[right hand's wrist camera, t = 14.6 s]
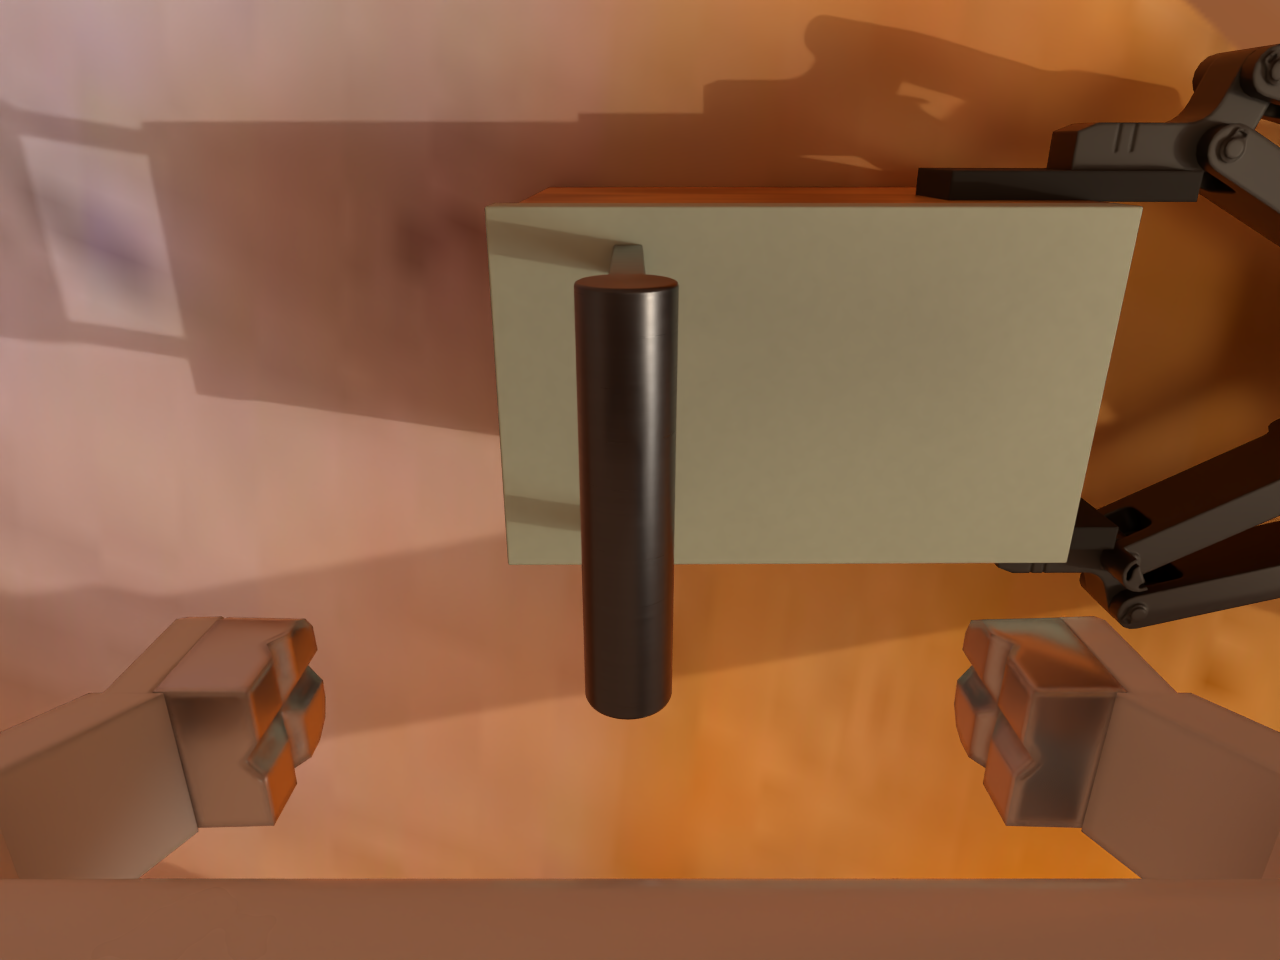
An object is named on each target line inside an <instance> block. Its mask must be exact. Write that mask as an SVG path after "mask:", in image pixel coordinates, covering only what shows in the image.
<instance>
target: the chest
mask: <svg viewBox="0 0 1280 960" xmlns="http://www.w3.org/2000/svg"><path fill="white" fill-rule="evenodd" d="M519 203H1108V202H1100V201H1091V200H943V199H937V198H931V197H925V196H919V195H916V187H549V188H547V189H545V190H543V191H541V192H539V193H537V194H535V195H533V196H531V197H529V198H527V199H525V200H523V201H521V202H519Z"/></svg>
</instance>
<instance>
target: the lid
mask: <svg viewBox="0 0 1280 960" xmlns="http://www.w3.org/2000/svg"><path fill="white" fill-rule="evenodd" d="M1142 210H1143V207H1141V206H1135V205H1126V204H1118V203H494V204H491V205H489V206H486V207H485V220H486V235H487V251H488V266H489V281H490V296H491V311H492V326H493V342H494V357H495V372H496V387H497V402H498V418H499V433H500V448H501V463H502V478H503V493H504V509H505V524H506V539H507V554H508V564H509V565H582V591H583V626H584V661H585V694H586V698H587V700H588V702H589V703H590V705H591V706H592V707H593V708H594V709H595V710H597V711H598V712H600V713H601V714H604V715H606V716H609V717H612V718H617V719H639V718H644V717H647V716H650V715H653V714H655V713H657V712H658V711H660V710H661V709H663V708H664V707H665V706H666V704H667V703H668V701H669V700H670V697H671V694H672V647H673V591H674V564H855V563H1066V562H1067V558H1068V553H1069V549H1070V544H1071V539H1072V535H1073V530H1074V525H1075V521H1076V516H1077V511H1078V507H1079V502H1080V498H1081V493H1082V488H1083V484H1084V479H1085V474H1086V470H1087V465H1088V460H1089V456H1090V451H1091V447H1092V442H1093V437H1094V433H1095V428H1096V423H1097V419H1098V414H1099V409H1100V405H1101V400H1102V396H1103V391H1104V386H1105V382H1106V377H1107V372H1108V368H1109V363H1110V358H1111V354H1112V349H1113V345H1114V340H1115V335H1116V331H1117V326H1118V321H1119V317H1120V312H1121V307H1122V303H1123V298H1124V294H1125V289H1126V284H1127V280H1128V275H1129V270H1130V266H1131V261H1132V256H1133V252H1134V247H1135V243H1136V238H1137V233H1138V229H1139V224H1140V219H1141V215H1142Z"/></svg>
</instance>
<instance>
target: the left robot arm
mask: <svg viewBox="0 0 1280 960" xmlns="http://www.w3.org/2000/svg"><path fill="white" fill-rule="evenodd" d="M1192 82H1193V91H1194V94H1193V96H1192V97H1191V99H1190V101H1189V103H1188V104H1187V106H1186V107H1185V109H1184V110H1183V111H1182V112H1181V113H1180V114H1179V115H1178V116H1177V117H1175V118H1174V119H1172V120H1171V121H1168V122H1165V123H1081V124H1071V125H1068V126H1066V127H1064V128H1061V129H1059V130H1056V131H1054V132H1053V134H1052V140H1051V146H1050V152H1049V158H1048V163H1047V168H919V170H918V178H917V186H916V195H919V196H925V197H931V198H937V199H943V200H1091V201H1100V202H1197V198H1198V194H1201V195H1202V196H1204V197H1205V198H1207V199H1208V200H1210V201H1211V202H1213V203H1214V204H1216V205H1217V206H1219V207H1220V208H1222V209H1224V210H1225V211H1227V212H1228V213H1230V214H1231V215H1233V216H1234V217H1236V218H1237V219H1239V220H1240V221H1242V222H1243V223H1245V224H1246V225H1248V226H1249V227H1251V228H1252V229H1254V230H1255V231H1257V232H1258V233H1260V234H1261V235H1263V236H1264V237H1266V238H1268V239H1269V240H1271V241H1272V242H1274V243H1275V244H1277V245H1278V246H1280V147H1278V146H1277V145H1275V144H1274V143H1272V142H1271V141H1270V140H1268V139H1267V138H1265V137H1264V136H1262V135H1261V134H1259V133H1258V132H1256V131H1255V130H1254V129H1255V128H1256V126H1257V124H1258V123H1259V121H1260V119H1264V120H1268V121H1271V122H1274V123H1277V124H1280V44H1276V45H1269V46H1263V47H1256V48H1250V49H1244V50H1237V51H1231V52H1224V53H1218V54H1215V55H1212V56H1209V57H1208V58H1206V59H1205V60H1204V61H1203V62H1201V63H1200V65H1199V66H1198V68H1197V69H1196V71H1195V74H1194V77H1193V81H1192ZM1268 429H1269V432H1268V433H1267V434H1265V435H1264V436H1262V437H1259V438H1257V439H1255V440H1253V441H1250V442H1248V443H1246V444H1244V445H1241V446H1239V447H1237V448H1235V449H1232V450H1230V451H1228V452H1226V453H1223V454H1221V455H1219V456H1217V457H1214V458H1212V459H1210V460H1208V461H1205V462H1203V463H1201V464H1199V465H1197V466H1194V467H1192V468H1190V469H1188V470H1185V471H1183V472H1181V473H1179V474H1176V475H1174V476H1172V477H1170V478H1167V479H1165V480H1163V481H1161V482H1158V483H1156V484H1154V485H1152V486H1149V487H1147V488H1145V489H1143V490H1140V491H1138V492H1136V493H1134V494H1131V495H1129V496H1127V497H1125V498H1122V499H1120V500H1118V501H1116V502H1113V503H1111V504H1109V505H1107V506H1105V507H1102V508H1100V509H1098V510H1096V509H1095V508H1094V507H1092V506H1091V505H1090V504H1088V503H1087V502H1086V501H1085V500H1083V499H1082V498H1080V502H1079V507H1078V511H1077V516H1076V521H1075V525H1074V530H1073V535H1072V539H1071V544H1070V549H1069V553H1068V558H1067V562H1066V563H995V564H996V566H997V567H998V568H1001V569H1004V570H1006V571H1009V572H1012V573H1029V572H1032V573H1042V572H1045V573H1081V572H1082V573H1081V574H1080V580H1079V581H1080V584H1081V586H1082V587H1083V588H1084V589H1085V590H1086V591H1087V592H1088V593H1089V594H1090V595H1091V596H1092V597H1093V598H1094V599H1095V600H1096V601H1097V602H1098V603H1099V604H1100V605H1101V606H1102V607H1103V608H1104V609H1105V610H1106V611H1107V612H1108V613H1109V614H1110V615H1111V616H1112V617H1113V618H1115V619H1116V620H1117V621H1118V622H1119V623H1120V624H1121V625H1122V626H1123V627H1126V628H1129V629H1136V628H1141V627H1146V626H1151V625H1155V624H1160V623H1165V622H1169V621H1174V620H1178V619H1183V618H1188V617H1192V616H1197V615H1202V614H1206V613H1211V612H1216V611H1220V610H1225V609H1230V608H1234V607H1239V606H1244V605H1248V604H1253V603H1258V602H1262V601H1267V600H1272V599H1276V598H1280V521H1277V522H1272V523H1268V524H1263V525H1259V524H1261V523H1264V522H1266V521H1268V520H1271V519H1273V518H1275V517H1278V516H1280V419H1278V420H1276V421H1274V422H1272V423H1271V424H1270V425H1269V426H1268ZM1257 525H1259V526H1257Z"/></svg>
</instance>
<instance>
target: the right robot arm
mask: <svg viewBox="0 0 1280 960" xmlns="http://www.w3.org/2000/svg"><path fill="white" fill-rule="evenodd" d="M316 651H317V645H316V640H315V635H314V631H313V626H312V625H311V624H310V623H309V622H308V621H307V620H306V619H291V618H240V617H227V618H223V617H186V618H180V619H176V620H175V621H174V622H173V623H172V624H171V625H170V626H169V627H168V628H167V629H166V630H165V631H164V632H163V633H162V634H161V635H160V636H159V637H158V638H157V639H156V640H155V641H154V642H153V643H152V644H151V645H150V646H149V647H148V648H147V649H146V650H145V651H144V652H143V653H142V654H141V655H140V656H139V657H138V658H137V659H136V660H135V661H134V662H133V663H132V664H131V665H130V666H129V667H128V668H127V669H126V670H125V671H124V672H123V673H122V674H121V675H120V676H119V677H118V678H117V679H116V680H115V681H114V682H113V683H112V684H111V685H110V686H109V687H108V688H107V689H106V690H105V691H104V692H103V693H88V694H86V695H84V696H81V697H79V698H77V699H75V700H72V701H70V702H68V703H66V704H63V705H61V706H59V707H57V708H54V709H52V710H50V711H48V712H45V713H43V714H41V715H39V716H36V717H34V718H32V719H30V720H27V721H25V722H23V723H21V724H18V725H16V726H14V727H11V728H9V729H7V730H5V731H2V732H0V960H1280V732H1277V731H1275V730H1273V729H1271V728H1268V727H1266V726H1264V725H1262V724H1259V723H1257V722H1255V721H1253V720H1250V719H1248V718H1246V717H1244V716H1241V715H1239V714H1237V713H1235V712H1232V711H1230V710H1228V709H1226V708H1223V707H1221V706H1219V705H1217V704H1214V703H1212V702H1210V701H1208V700H1205V699H1203V698H1201V697H1199V696H1196V695H1194V694H1192V693H1177V692H1176V691H1175V690H1174V689H1173V688H1172V687H1171V686H1170V685H1169V684H1168V683H1167V682H1166V681H1165V680H1164V679H1163V678H1162V677H1161V676H1160V675H1159V674H1158V673H1157V672H1156V671H1155V670H1154V669H1153V668H1152V667H1151V666H1150V665H1149V664H1148V663H1147V662H1146V661H1145V660H1144V659H1143V658H1142V657H1141V656H1140V655H1139V654H1138V653H1137V652H1136V651H1135V650H1134V649H1133V648H1132V647H1131V646H1130V645H1129V644H1128V643H1127V642H1126V641H1125V640H1124V639H1123V638H1122V637H1121V636H1120V635H1119V634H1118V633H1117V632H1116V631H1115V630H1114V629H1113V628H1112V627H1111V626H1110V625H1109V624H1108V623H1107V622H1106V621H1105V620H1103V619H1100V618H1097V617H1095V616H1089V617H1064V618H1027V619H987V620H971V622H970V624H969V626H968V628H967V630H966V633H965V639H964V644H963V651H964V653H965V655H966V656H967V658H968V659H969V661H970V663H971V664H972V666H971V667H970V668H969V669H968V670H967V671H966V672H965V673H964V674H963V675H962V676H961V677H960V678H959V679H958V680H957V686H956V694H955V701H954V707H955V719H956V727H957V730H958V734H959V737H960V740H961V743H962V745H963V747H964V749H965V751H966V753H967V755H968V757H970V758H971V759H973V760H974V761H976V762H977V763H979V764H980V765H982V766H983V767H985V768H986V770H985V775H984V780H983V785H984V786H985V788H986V790H987V792H988V794H989V795H990V797H991V799H992V801H993V803H994V805H995V806H996V808H997V810H998V812H999V814H1000V815H1001V817H1002V819H1003V821H1004V823H1005V825H1006V826H1036V827H1073V828H1082V830H1081V831H1082V832H1083V833H1084V834H1086V835H1087V836H1088V837H1090V838H1091V839H1092V840H1093V841H1095V842H1096V843H1097V844H1098V845H1100V846H1101V847H1102V848H1104V849H1105V850H1106V851H1107V852H1109V853H1110V854H1111V855H1113V856H1114V857H1115V858H1116V859H1118V860H1119V861H1120V862H1121V863H1123V864H1124V865H1125V866H1127V867H1128V868H1129V869H1130V870H1132V871H1133V872H1134V873H1135V874H1137V875H1138V876H1139V877H1141V878H1142V879H138V878H140V877H141V876H142V875H144V874H145V873H146V872H147V871H149V870H150V869H151V868H152V867H154V866H155V865H156V864H158V863H159V862H160V861H161V860H163V859H164V858H165V857H167V856H168V855H169V854H170V853H172V852H173V851H174V850H175V849H177V848H178V847H179V846H181V845H182V844H183V843H184V842H186V841H187V840H188V839H190V838H191V837H192V836H193V835H195V834H196V833H197V832H198V828H207V827H242V826H274V825H275V823H276V821H277V819H278V817H279V816H280V814H281V812H282V810H283V808H284V806H285V805H286V803H287V801H288V799H289V797H290V796H291V794H292V792H293V790H294V788H295V786H296V785H297V780H296V775H295V769H294V768H295V767H297V766H298V765H300V764H301V763H303V762H304V761H306V760H307V759H309V758H310V757H312V755H313V753H314V751H315V749H316V747H317V745H318V743H319V741H320V738H321V733H322V729H323V725H324V720H325V692H324V685H323V680H322V679H321V678H320V677H319V676H318V675H317V674H316V673H315V672H314V671H313V670H312V669H311V668H310V667H309V666H308V664H309V663H310V661H311V659H312V658H313V656H314V655H315V653H316Z"/></svg>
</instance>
